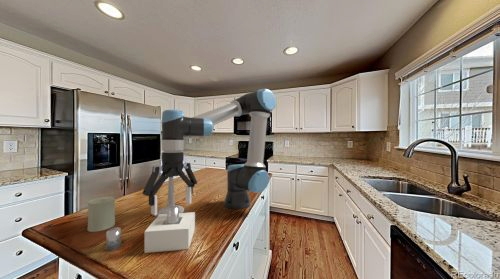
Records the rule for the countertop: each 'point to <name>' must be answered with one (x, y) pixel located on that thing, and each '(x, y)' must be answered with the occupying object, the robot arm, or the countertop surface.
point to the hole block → (170, 233)
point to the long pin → (173, 215)
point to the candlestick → (170, 199)
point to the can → (101, 214)
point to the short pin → (113, 238)
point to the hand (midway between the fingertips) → (172, 208)
